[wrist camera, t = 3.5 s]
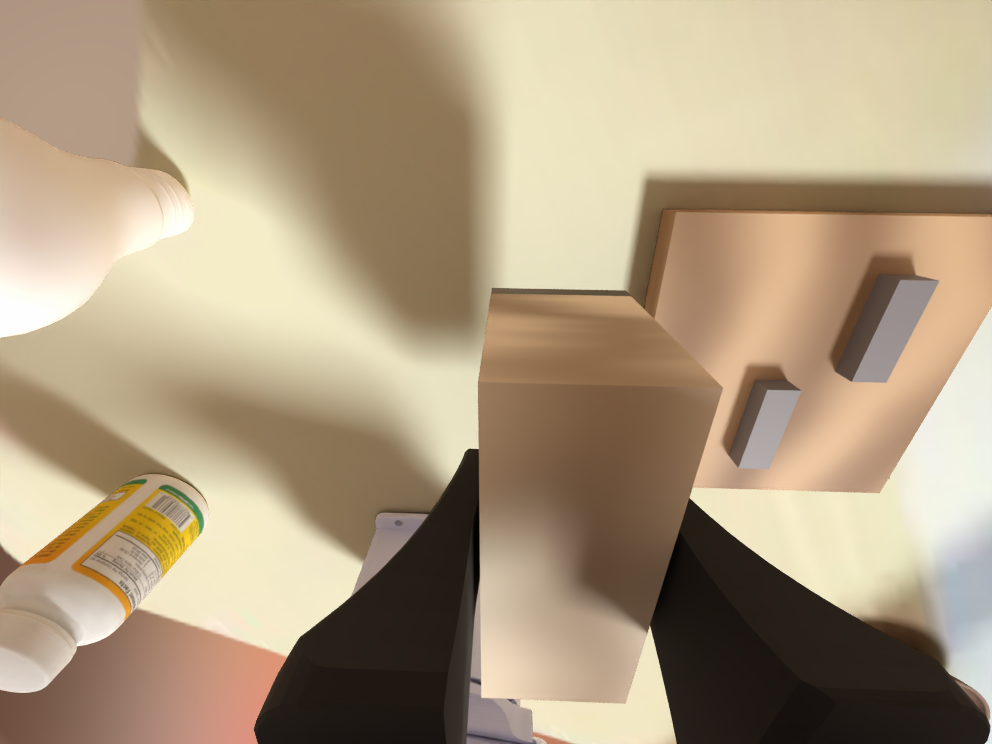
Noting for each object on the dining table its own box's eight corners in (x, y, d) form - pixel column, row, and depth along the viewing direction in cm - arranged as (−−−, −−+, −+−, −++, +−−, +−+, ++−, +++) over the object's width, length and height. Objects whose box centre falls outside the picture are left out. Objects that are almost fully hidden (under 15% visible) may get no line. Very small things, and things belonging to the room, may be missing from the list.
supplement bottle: (212, 483, 25) (53, 648, 16) (213, 539, 27) (75, 710, 18) (120, 461, 24) (-95, 620, 15) (130, 520, 26) (-53, 688, 18)
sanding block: (490, 526, 16) (481, 697, 11) (492, 288, 12) (477, 382, 6) (586, 529, 16) (625, 703, 11) (625, 290, 12) (722, 387, 6)
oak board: (614, 467, 23) (620, 485, 22) (662, 209, 17) (676, 212, 15) (857, 474, 23) (879, 492, 21) (1001, 214, 16) (1045, 217, 15)
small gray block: (728, 455, 21) (738, 468, 20) (755, 379, 19) (767, 389, 18) (757, 456, 21) (768, 469, 20) (787, 380, 18) (801, 390, 18)
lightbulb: (125, 261, 18) (-314, 361, 9) (82, 106, 16) (-635, -5, 6) (257, 281, 19) (-23, 401, 9) (238, 132, 16) (-200, 66, 6)
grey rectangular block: (834, 371, 18) (851, 381, 17) (878, 274, 16) (900, 280, 15) (867, 372, 18) (886, 382, 17) (916, 274, 16) (939, 280, 15)
